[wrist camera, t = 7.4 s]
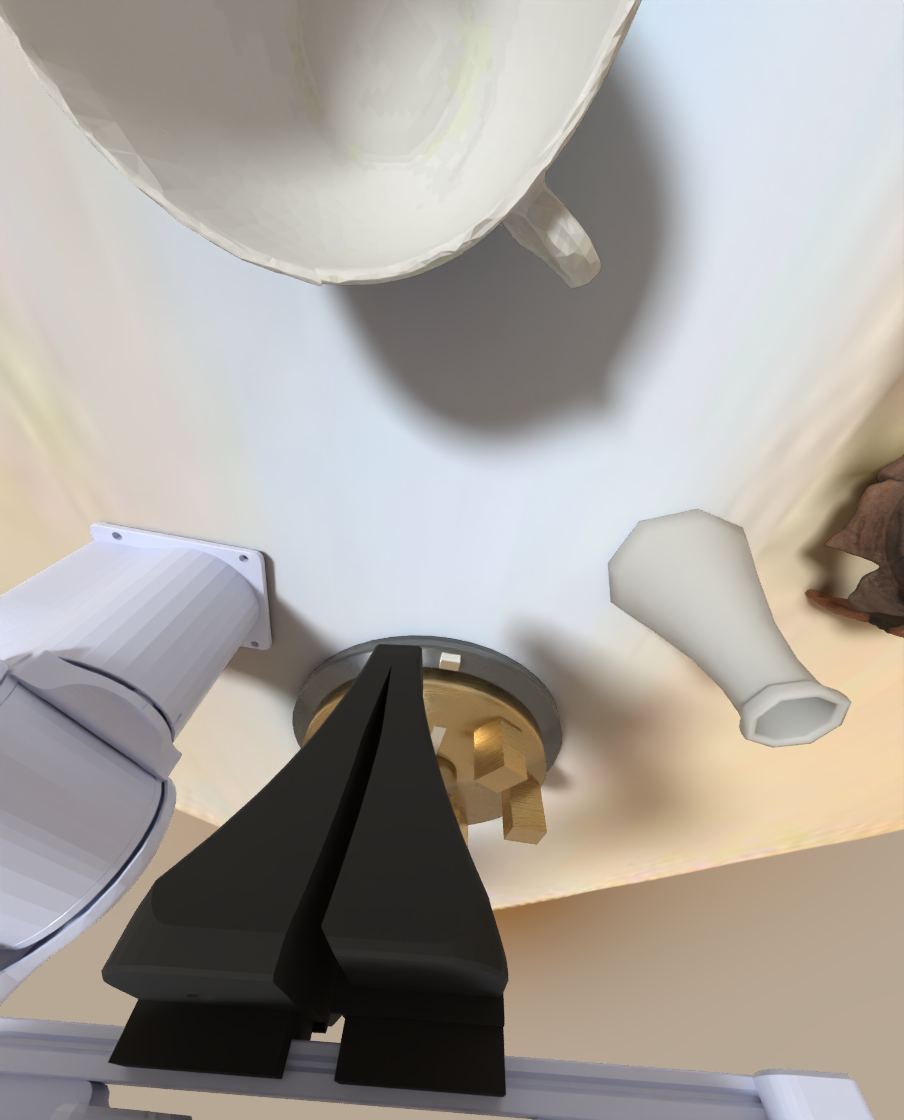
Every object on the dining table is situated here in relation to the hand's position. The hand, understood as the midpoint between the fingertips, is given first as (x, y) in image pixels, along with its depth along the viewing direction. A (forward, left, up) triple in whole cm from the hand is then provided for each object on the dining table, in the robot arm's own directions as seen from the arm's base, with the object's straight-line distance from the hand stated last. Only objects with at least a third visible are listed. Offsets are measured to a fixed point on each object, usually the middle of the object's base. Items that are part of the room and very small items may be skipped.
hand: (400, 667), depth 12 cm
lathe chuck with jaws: (+3, -19, -9) cm, 21 cm away
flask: (+14, 0, -11) cm, 17 cm away
